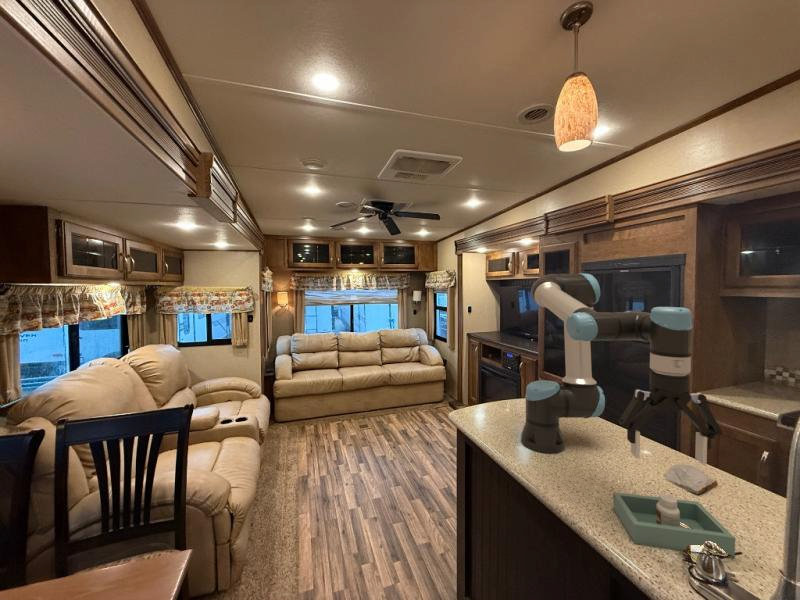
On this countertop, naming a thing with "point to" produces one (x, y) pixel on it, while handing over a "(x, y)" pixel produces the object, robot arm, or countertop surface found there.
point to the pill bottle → (667, 511)
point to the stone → (690, 478)
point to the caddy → (643, 529)
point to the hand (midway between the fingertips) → (667, 458)
